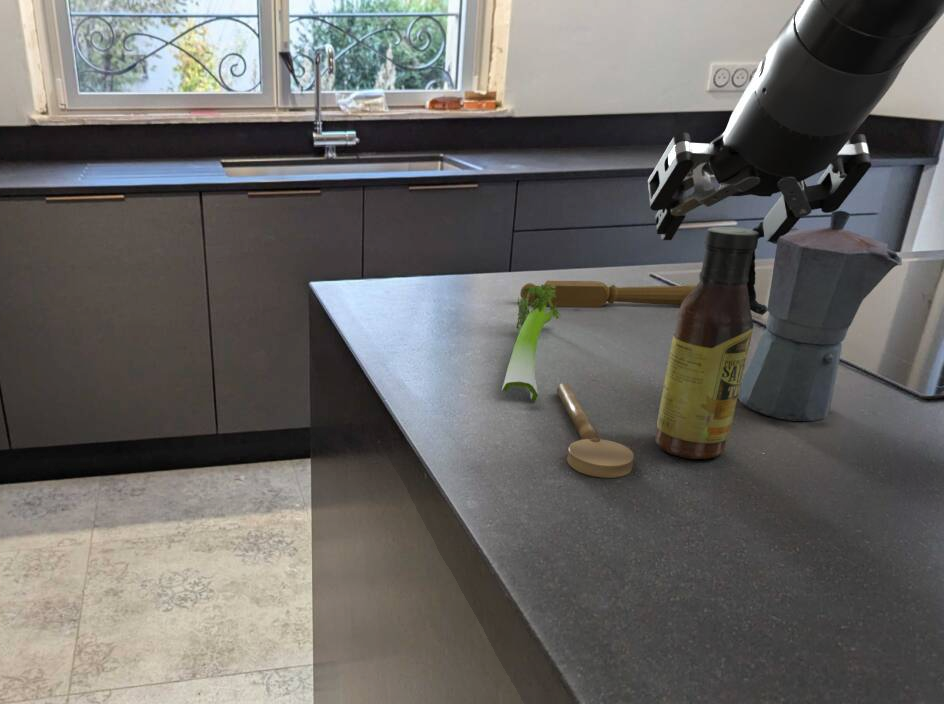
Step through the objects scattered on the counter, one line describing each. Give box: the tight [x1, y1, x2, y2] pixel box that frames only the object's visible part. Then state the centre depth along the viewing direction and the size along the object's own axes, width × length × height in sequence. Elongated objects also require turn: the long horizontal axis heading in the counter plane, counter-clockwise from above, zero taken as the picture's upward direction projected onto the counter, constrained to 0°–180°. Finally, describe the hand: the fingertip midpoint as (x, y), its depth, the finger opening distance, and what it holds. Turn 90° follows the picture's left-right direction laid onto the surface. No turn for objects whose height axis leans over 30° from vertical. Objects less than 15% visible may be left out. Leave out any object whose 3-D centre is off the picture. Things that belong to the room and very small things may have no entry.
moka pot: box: [737, 210, 903, 422], centre depth 82 cm, size 10×15×20 cm, turn 36°
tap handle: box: [519, 280, 697, 308], centre depth 121 cm, size 3×3×30 cm
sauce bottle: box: [655, 226, 759, 460], centre depth 72 cm, size 6×6×20 cm
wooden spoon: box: [556, 382, 635, 479], centre depth 80 cm, size 20×6×1 cm, turn 178°
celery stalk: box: [501, 284, 562, 404], centre depth 99 cm, size 6×7×30 cm
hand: (716, 232), depth 69 cm, fingers open, 8 cm apart
